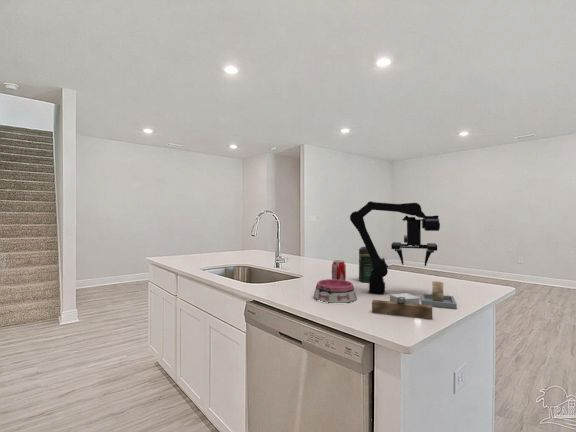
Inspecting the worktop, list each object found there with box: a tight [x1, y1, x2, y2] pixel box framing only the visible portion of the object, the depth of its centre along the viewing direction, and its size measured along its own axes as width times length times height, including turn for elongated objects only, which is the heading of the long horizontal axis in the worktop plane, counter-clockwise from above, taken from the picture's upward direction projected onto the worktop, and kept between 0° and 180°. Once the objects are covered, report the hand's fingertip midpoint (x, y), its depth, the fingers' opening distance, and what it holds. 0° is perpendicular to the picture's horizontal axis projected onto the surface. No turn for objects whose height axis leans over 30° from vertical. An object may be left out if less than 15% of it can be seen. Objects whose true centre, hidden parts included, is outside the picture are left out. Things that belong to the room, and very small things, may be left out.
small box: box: [389, 292, 420, 304], centre depth 117 cm, size 8×8×5 cm
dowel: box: [431, 280, 444, 302], centre depth 123 cm, size 4×4×8 cm
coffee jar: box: [358, 246, 374, 283], centre depth 167 cm, size 10×8×19 cm
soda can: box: [331, 260, 347, 281], centre depth 158 cm, size 7×7×12 cm
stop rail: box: [371, 297, 433, 320], centre depth 109 cm, size 20×3×6 cm, turn 67°
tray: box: [420, 293, 457, 310], centre depth 123 cm, size 12×12×2 cm
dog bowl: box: [313, 278, 358, 304], centre depth 132 cm, size 18×19×7 cm
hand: (413, 265), depth 137 cm, fingers open, 9 cm apart
